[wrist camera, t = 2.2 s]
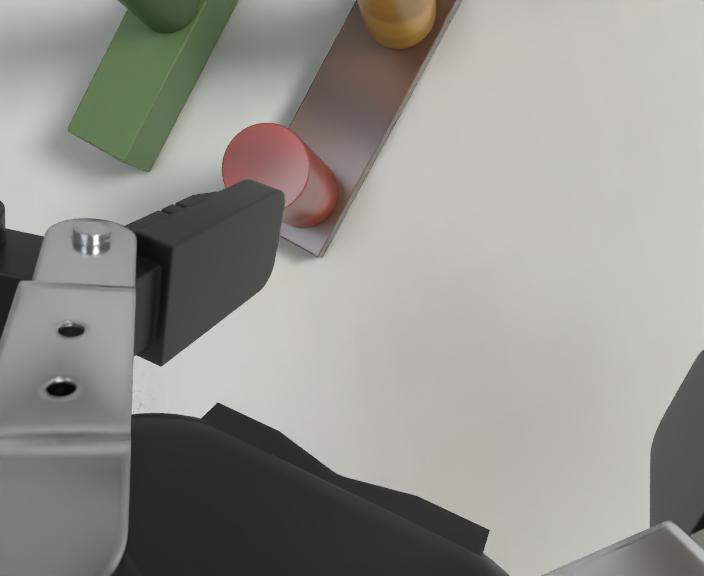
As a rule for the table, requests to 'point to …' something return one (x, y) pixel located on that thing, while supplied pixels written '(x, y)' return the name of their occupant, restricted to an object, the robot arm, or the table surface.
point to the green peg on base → (148, 76)
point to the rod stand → (341, 117)
